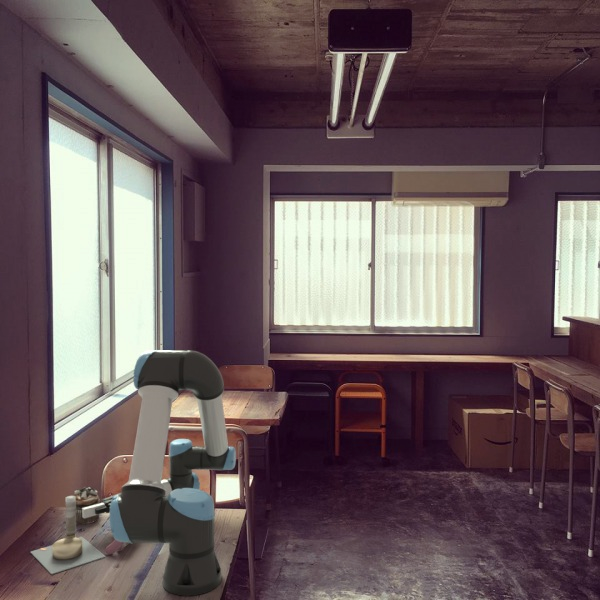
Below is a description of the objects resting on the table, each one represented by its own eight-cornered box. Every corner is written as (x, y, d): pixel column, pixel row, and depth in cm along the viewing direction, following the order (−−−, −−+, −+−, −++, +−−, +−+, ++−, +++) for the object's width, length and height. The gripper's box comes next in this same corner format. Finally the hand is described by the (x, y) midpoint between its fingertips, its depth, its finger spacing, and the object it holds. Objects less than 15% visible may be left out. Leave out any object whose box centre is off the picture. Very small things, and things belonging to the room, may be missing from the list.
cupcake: (63, 521, 197) (63, 491, 197) (87, 510, 206) (86, 481, 205) (84, 527, 193) (84, 496, 192) (107, 516, 201) (107, 486, 201)
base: (105, 557, 173) (105, 555, 173) (51, 574, 163) (51, 573, 163) (81, 537, 186) (81, 536, 186) (30, 552, 176) (30, 551, 176)
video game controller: (115, 561, 174) (125, 541, 173) (102, 553, 174) (112, 532, 174) (131, 546, 184) (141, 526, 183) (119, 538, 184) (128, 518, 183)
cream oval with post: (80, 558, 171) (79, 510, 171) (49, 560, 170) (48, 512, 169) (86, 539, 183) (85, 494, 182) (57, 541, 181) (57, 496, 181)
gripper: (164, 511, 194) (92, 532, 178) (145, 499, 204) (74, 518, 188) (164, 488, 193) (91, 507, 178) (145, 477, 203) (74, 494, 188)
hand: (83, 513), depth 183 cm, fingers closed
